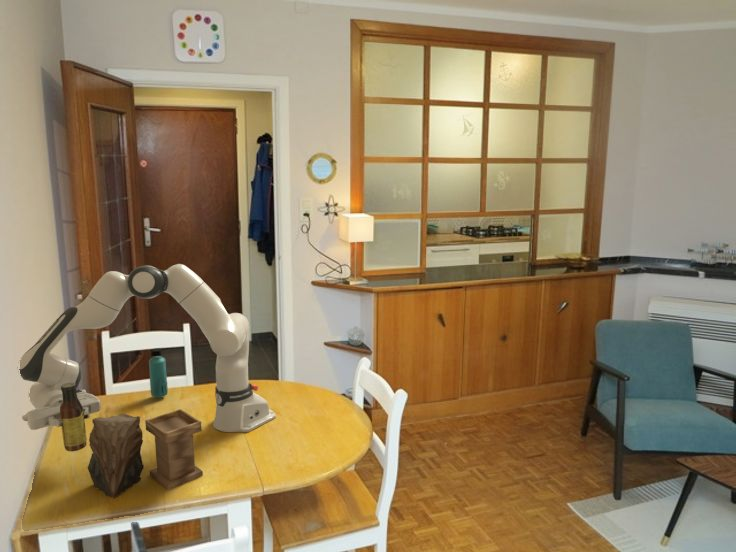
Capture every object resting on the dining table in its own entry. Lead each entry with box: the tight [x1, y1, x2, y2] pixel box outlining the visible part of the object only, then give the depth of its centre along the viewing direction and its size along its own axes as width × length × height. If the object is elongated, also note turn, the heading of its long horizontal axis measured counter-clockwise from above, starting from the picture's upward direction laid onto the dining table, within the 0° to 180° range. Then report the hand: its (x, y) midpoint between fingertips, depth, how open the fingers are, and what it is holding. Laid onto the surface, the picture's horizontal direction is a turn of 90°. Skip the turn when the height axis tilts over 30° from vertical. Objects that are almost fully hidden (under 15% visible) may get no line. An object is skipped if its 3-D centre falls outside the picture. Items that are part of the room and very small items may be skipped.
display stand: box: [144, 409, 204, 491], centre depth 176 cm, size 11×12×18 cm
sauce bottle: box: [60, 383, 88, 452], centre depth 176 cm, size 6×6×20 cm
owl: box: [87, 413, 144, 499], centre depth 172 cm, size 13×13×20 cm
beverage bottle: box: [148, 348, 169, 398], centre depth 232 cm, size 6×7×20 cm
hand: (73, 420), depth 175 cm, fingers closed on sauce bottle, 6 cm apart
